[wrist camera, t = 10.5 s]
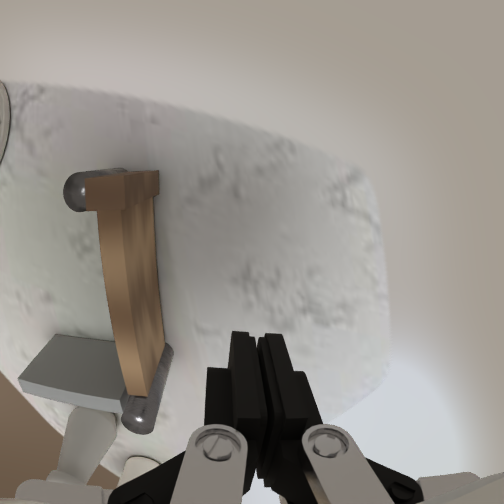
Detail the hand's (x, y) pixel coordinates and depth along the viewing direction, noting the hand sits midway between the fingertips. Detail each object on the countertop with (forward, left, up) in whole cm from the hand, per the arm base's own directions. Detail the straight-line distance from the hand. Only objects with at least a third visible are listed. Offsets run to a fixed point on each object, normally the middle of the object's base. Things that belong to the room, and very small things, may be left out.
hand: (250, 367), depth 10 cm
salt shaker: (-16, -20, -16) cm, 30 cm away
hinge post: (-7, -10, -16) cm, 20 cm away
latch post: (-10, +5, -16) cm, 19 cm away
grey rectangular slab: (-14, -10, -16) cm, 23 cm away
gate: (-7, -1, -15) cm, 17 cm away
